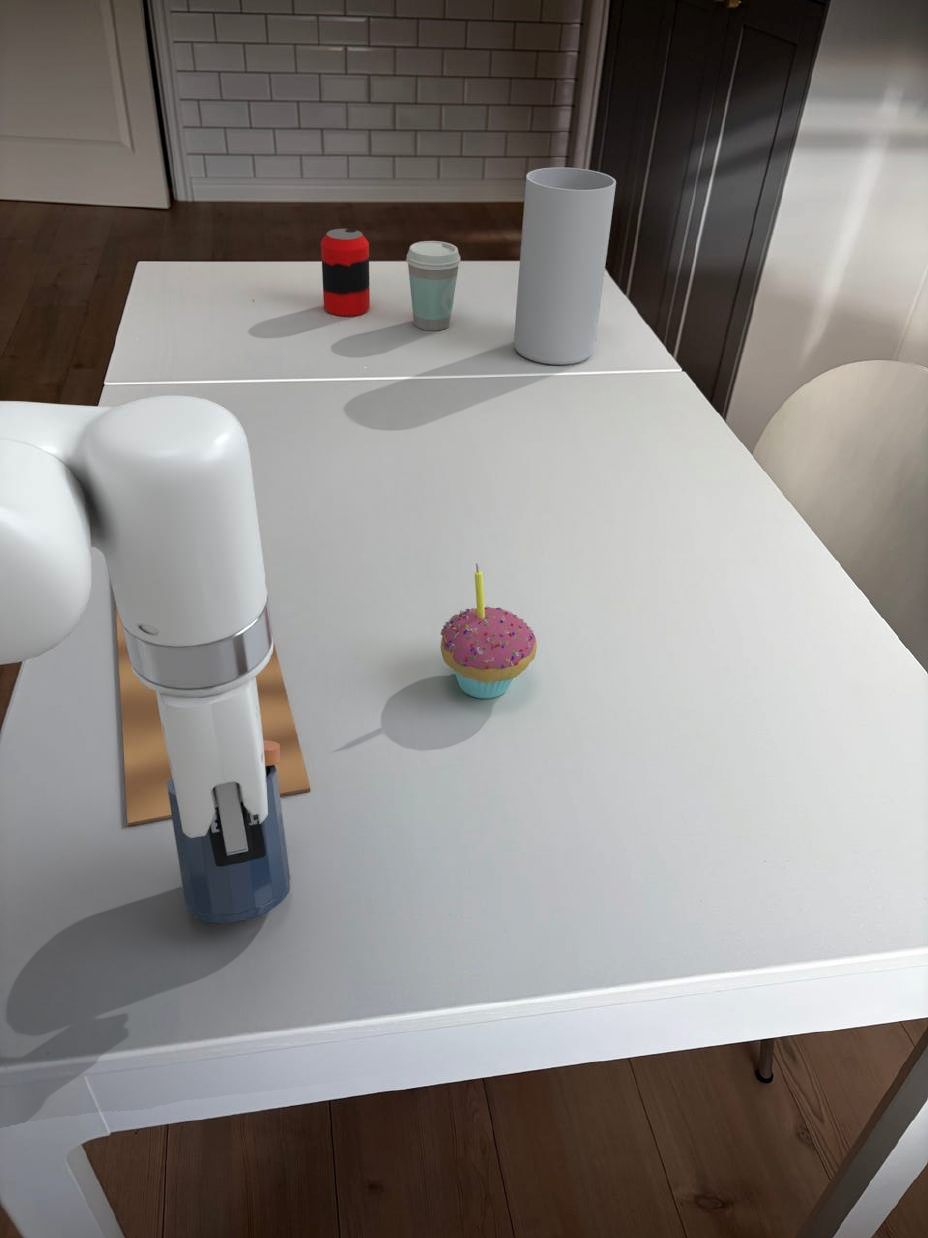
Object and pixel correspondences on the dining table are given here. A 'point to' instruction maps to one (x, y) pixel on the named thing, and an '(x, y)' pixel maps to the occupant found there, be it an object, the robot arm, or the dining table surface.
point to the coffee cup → (432, 283)
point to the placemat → (148, 747)
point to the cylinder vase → (562, 263)
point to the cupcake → (486, 647)
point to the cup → (233, 868)
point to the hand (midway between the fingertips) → (240, 852)
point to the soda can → (345, 272)
